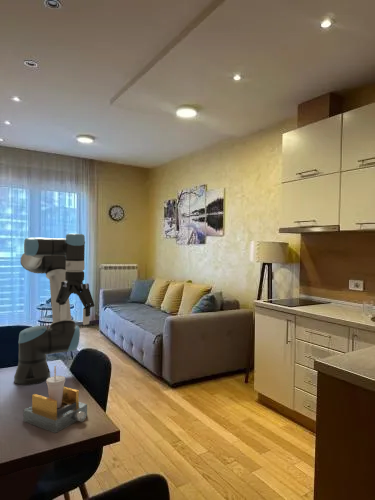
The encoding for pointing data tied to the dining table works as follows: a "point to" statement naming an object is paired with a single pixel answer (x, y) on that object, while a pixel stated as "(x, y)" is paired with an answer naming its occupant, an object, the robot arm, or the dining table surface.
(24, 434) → the dining table surface
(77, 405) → the vise
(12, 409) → the dining table surface
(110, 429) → the dining table surface
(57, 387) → the smoothie
